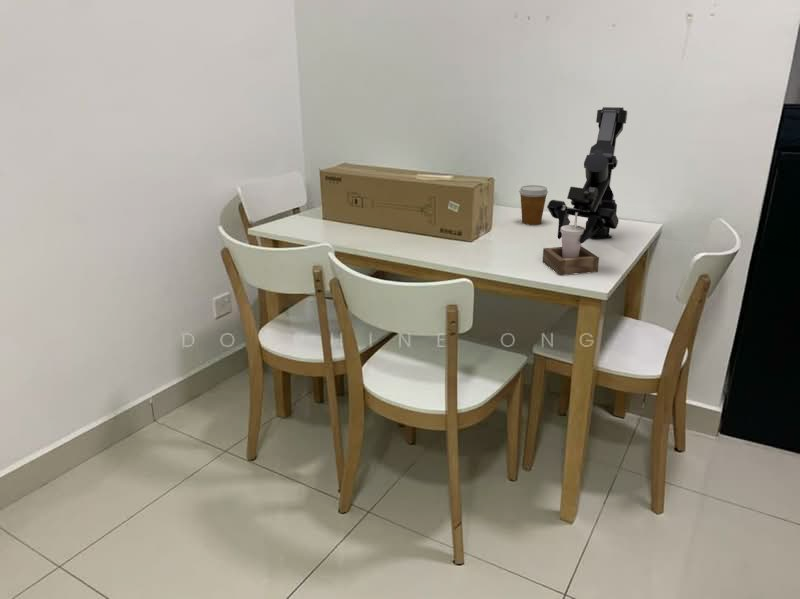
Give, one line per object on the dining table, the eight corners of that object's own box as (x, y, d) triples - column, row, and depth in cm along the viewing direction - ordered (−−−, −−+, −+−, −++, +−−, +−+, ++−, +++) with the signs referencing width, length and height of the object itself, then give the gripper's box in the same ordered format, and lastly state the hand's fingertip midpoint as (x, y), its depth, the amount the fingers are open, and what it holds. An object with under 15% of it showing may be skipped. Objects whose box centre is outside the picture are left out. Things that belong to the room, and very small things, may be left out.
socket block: (579, 258, 173) (580, 245, 171) (597, 271, 163) (599, 257, 161) (542, 261, 171) (543, 248, 169) (558, 275, 161) (560, 260, 159)
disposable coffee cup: (542, 218, 213) (545, 184, 208) (548, 226, 204) (551, 190, 200) (515, 219, 213) (517, 185, 209) (519, 226, 204) (521, 191, 200)
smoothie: (582, 267, 163) (587, 216, 157) (557, 265, 164) (562, 215, 159) (581, 259, 169) (586, 209, 163) (557, 258, 170) (561, 208, 164)
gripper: (553, 170, 166) (529, 218, 163) (619, 178, 154) (594, 231, 151) (564, 193, 174) (542, 239, 171) (628, 203, 162) (605, 253, 159)
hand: (569, 240), depth 163 cm, fingers closed on smoothie, 6 cm apart
